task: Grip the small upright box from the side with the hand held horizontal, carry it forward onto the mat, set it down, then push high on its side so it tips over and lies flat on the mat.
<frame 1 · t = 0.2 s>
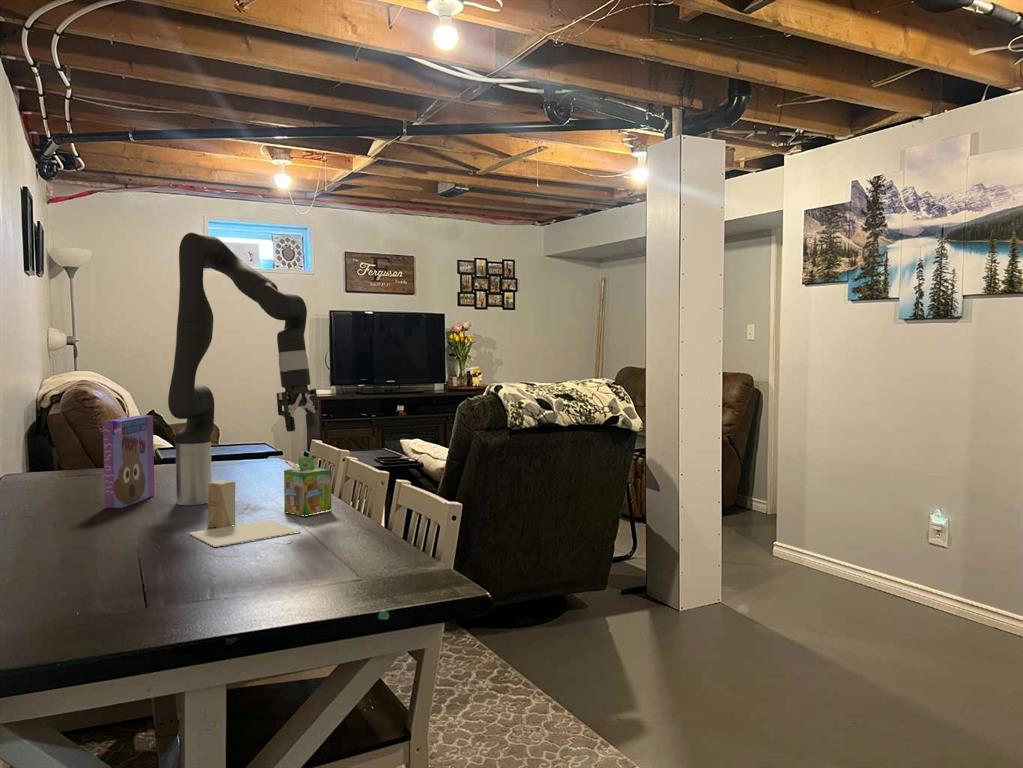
hand: (301, 429, 197), 22 cm above the table, tool pointing down, fingers open, 8 cm apart
chalk box: (308, 513, 198), on the table
mat: (244, 533, 175), on the table
cereal box: (130, 502, 211), on the table
box: (222, 527, 182), on the table
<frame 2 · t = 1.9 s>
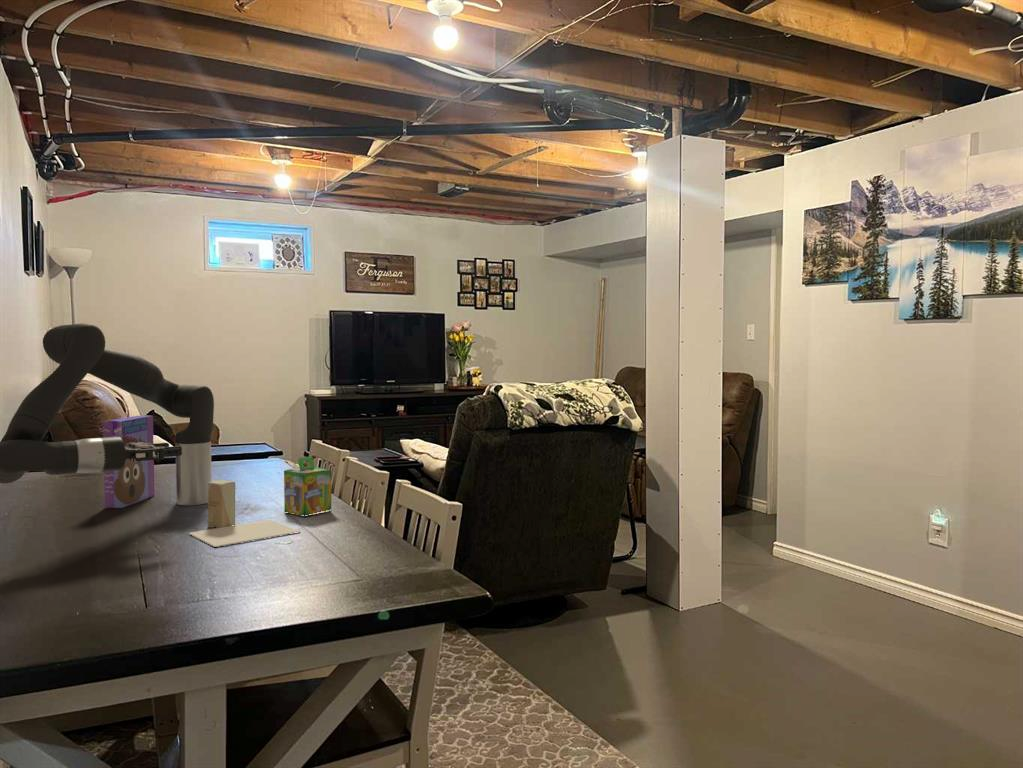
hand: (174, 448, 174), 20 cm above the table, tool horizontal, fingers open, 8 cm apart
nothing on the table moved.
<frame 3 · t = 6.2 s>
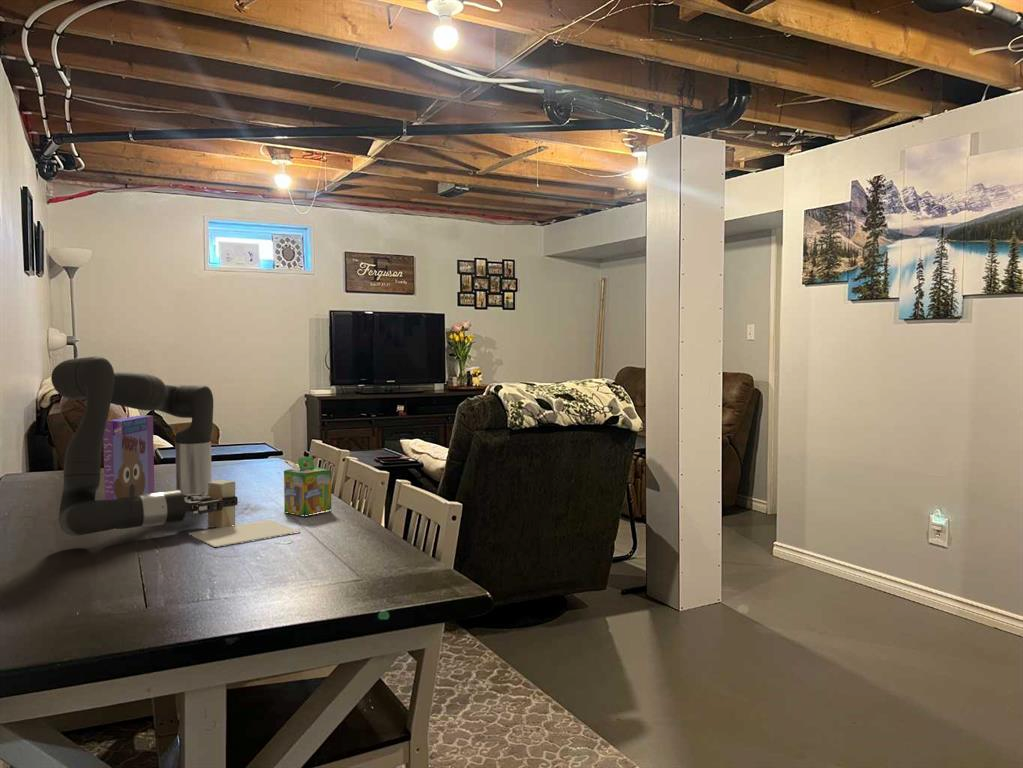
hand: (231, 498, 184), 7 cm above the table, tool horizontal, fingers closed on box, 6 cm apart
box: (222, 526, 182), on the table, touching gripper
everything else where it was.
when the fingers open (7 cm above the table, at t = 11.3 s): box stays where it is, resting on mat.
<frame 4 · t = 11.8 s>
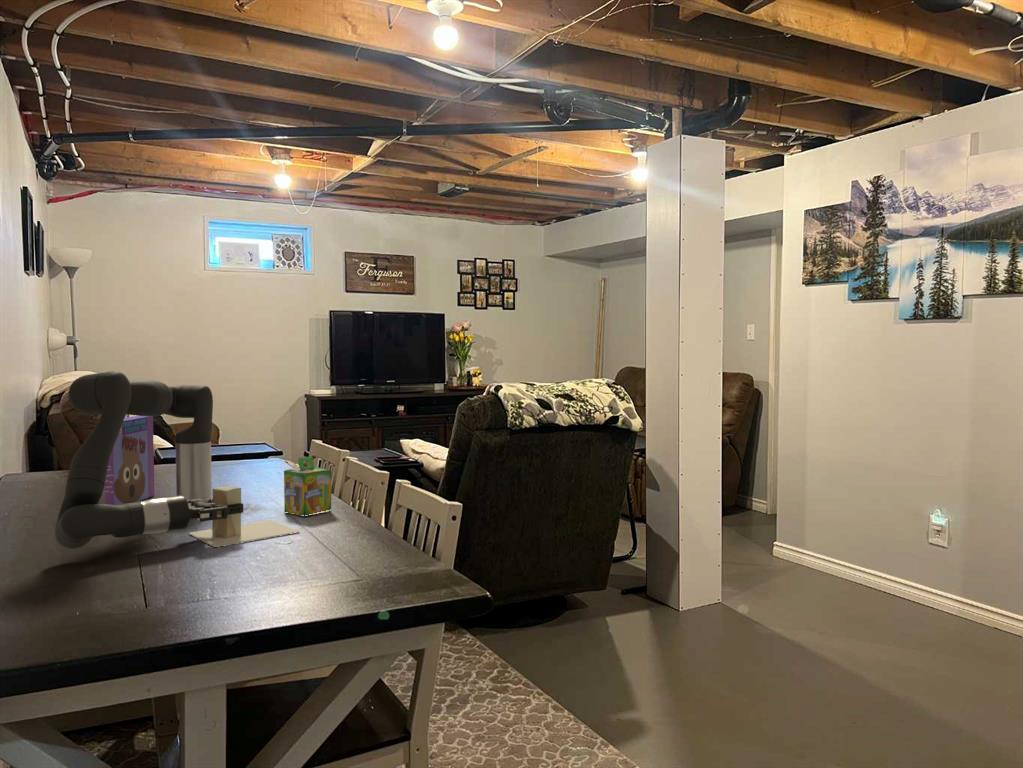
hand: (235, 504, 173), 7 cm above the table, tool horizontal, fingers open, 8 cm apart
box: (227, 535, 172), resting on mat
everything else where it was.
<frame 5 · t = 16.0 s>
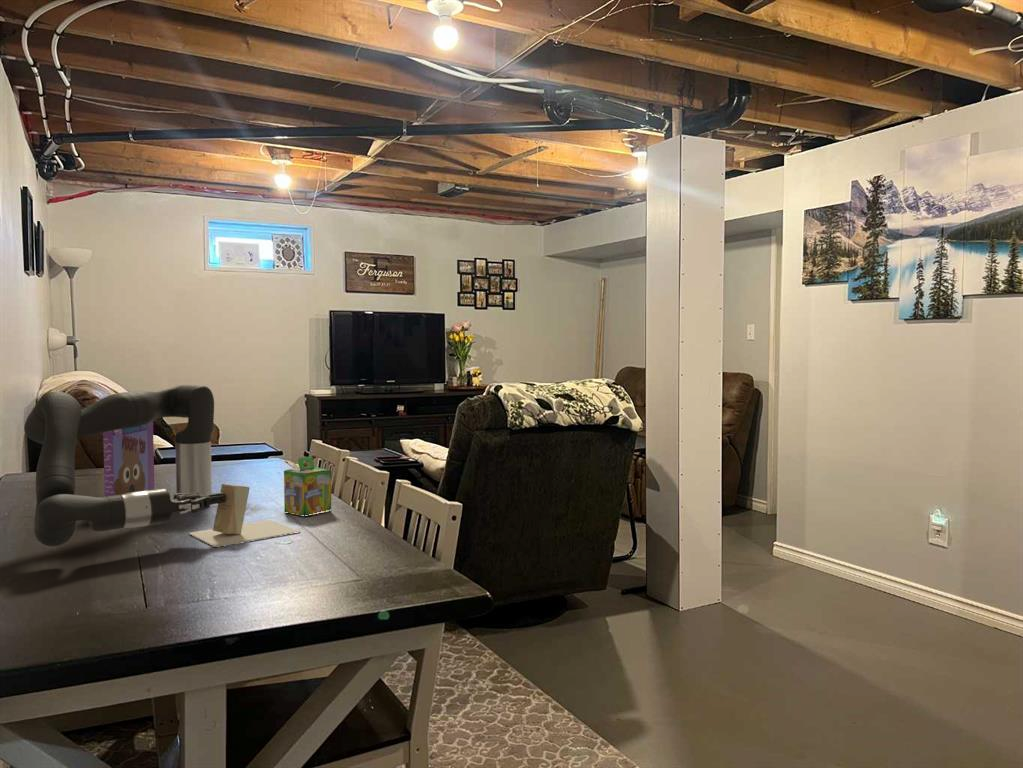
hand: (224, 497, 171), 9 cm above the table, tool horizontal, fingers closed
box: (227, 533, 172), point 1 cm above the table, touching gripper, mat
everything else where it was.
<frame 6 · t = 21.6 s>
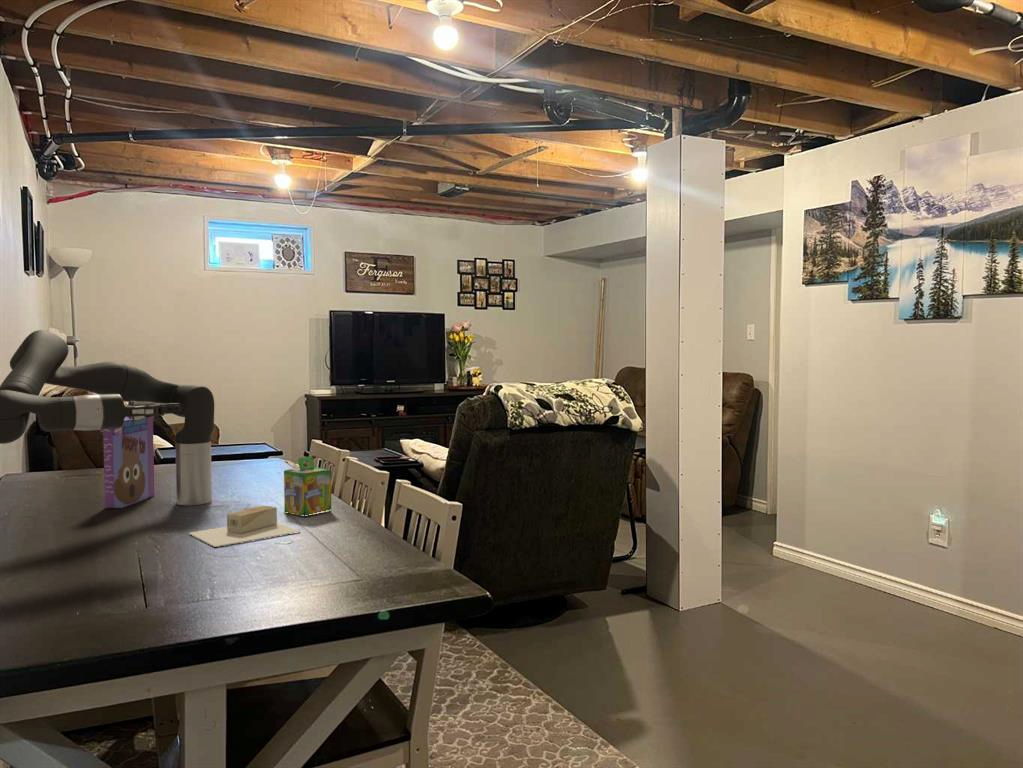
hand: (180, 408, 170), 30 cm above the table, tool horizontal, fingers closed
box: (233, 524, 174), point 3 cm above the table, touching mat
everything else where it was.
at the end: box tilted 90°; box inside the target area (3.4 cm from its centre), point 2.5 cm above the table; the gripper is holding nothing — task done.
